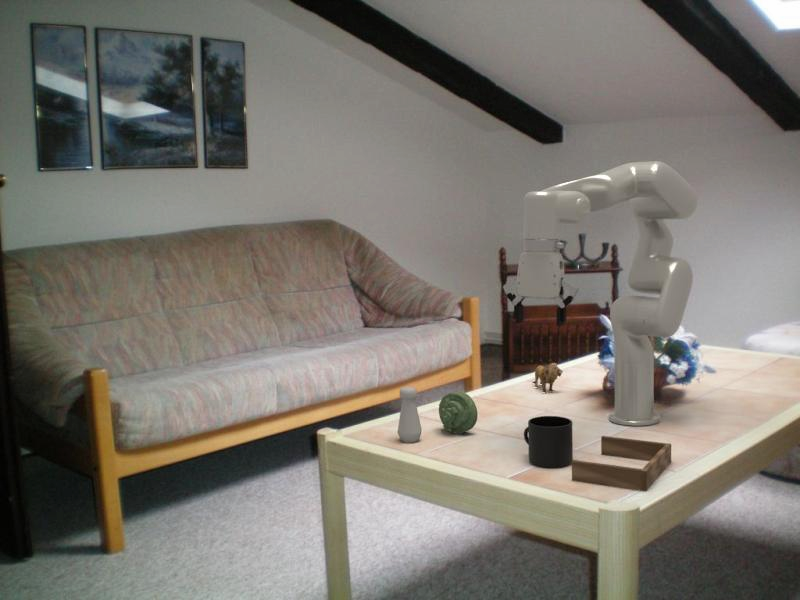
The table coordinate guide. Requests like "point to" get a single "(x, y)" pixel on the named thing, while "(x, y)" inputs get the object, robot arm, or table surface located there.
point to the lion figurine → (547, 375)
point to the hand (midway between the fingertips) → (539, 323)
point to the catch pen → (621, 475)
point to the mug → (549, 441)
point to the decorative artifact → (458, 412)
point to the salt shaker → (409, 416)
